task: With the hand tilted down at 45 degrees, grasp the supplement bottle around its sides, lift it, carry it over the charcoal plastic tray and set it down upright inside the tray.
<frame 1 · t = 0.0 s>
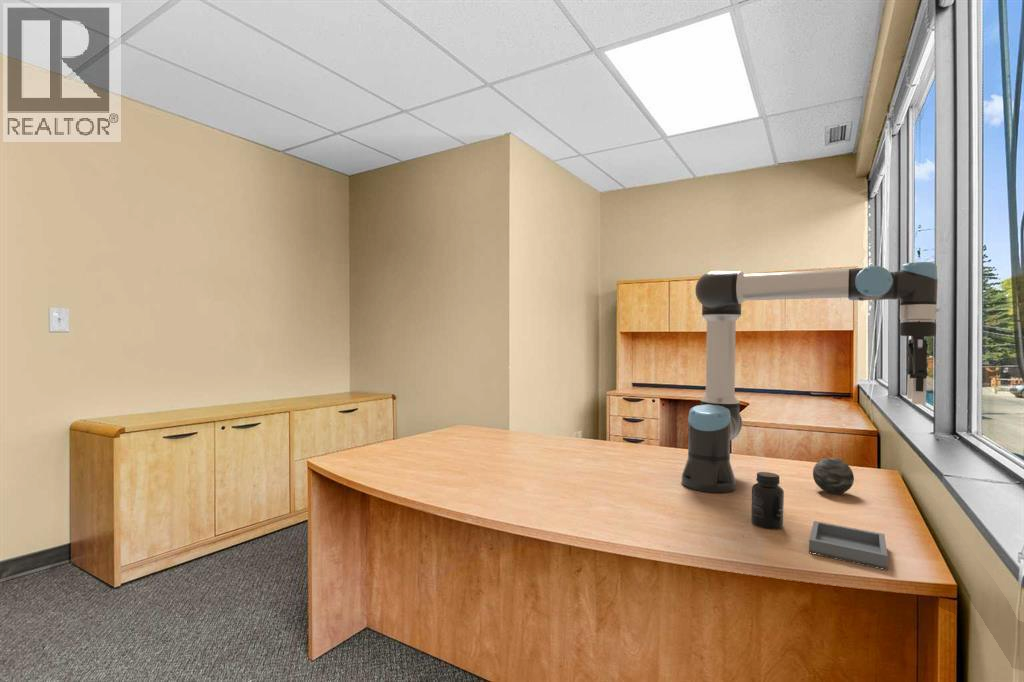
hand: (915, 401, 133), 28 cm above the table, tool pointing down, fingers open, 13 cm apart
decorative stone: (832, 493, 144), on the table
supplement bottle: (767, 525, 120), on the table
tray: (847, 550, 106), on the table
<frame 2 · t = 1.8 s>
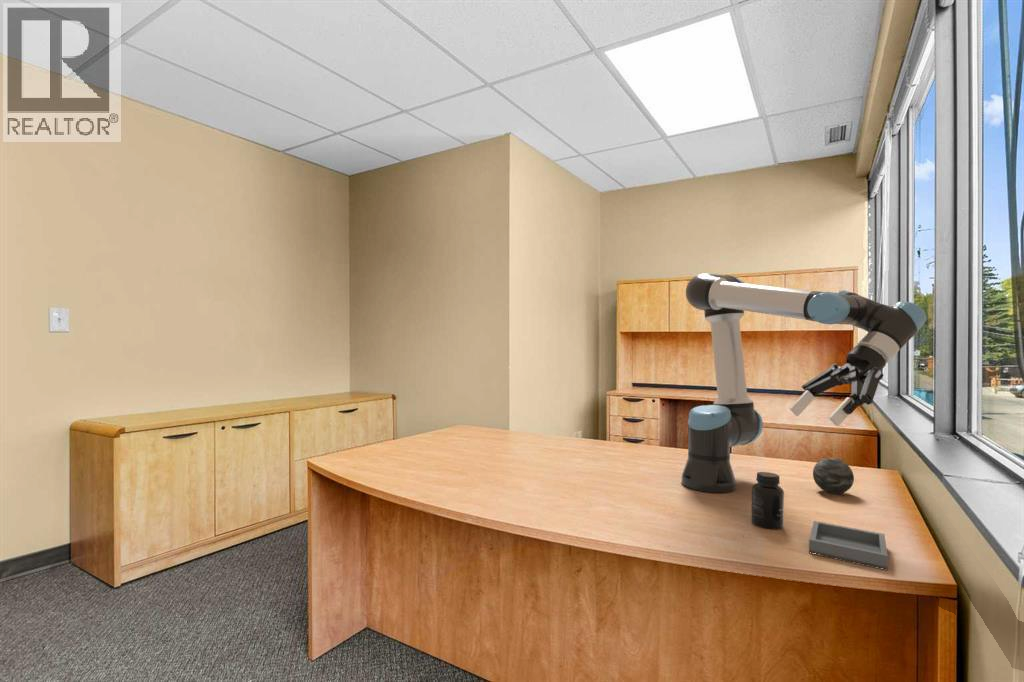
hand: (812, 416, 120), 26 cm above the table, tool tilted 45°, fingers open, 13 cm apart
nothing on the table moved.
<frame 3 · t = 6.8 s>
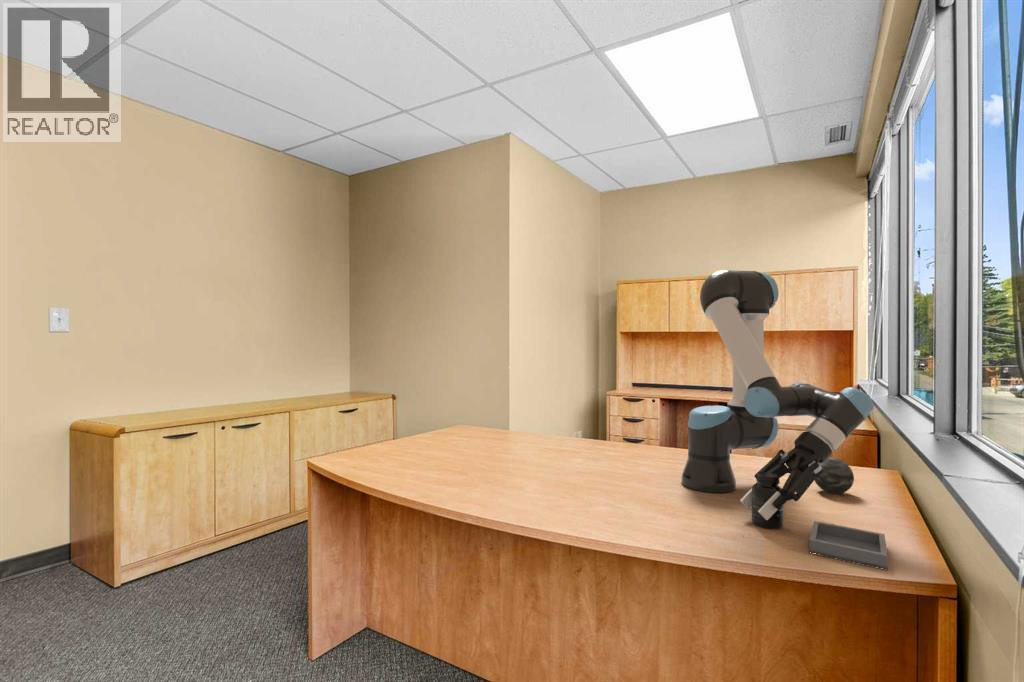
hand: (753, 510, 119), 3 cm above the table, tool tilted 45°, fingers closed on supplement bottle, 7 cm apart
supplement bottle: (767, 525, 120), on the table, touching gripper
everything else where it was.
when the fingers open (5 cm above the table, at t = 11.9 s): supplement bottle drops 1 cm, resting on tray.
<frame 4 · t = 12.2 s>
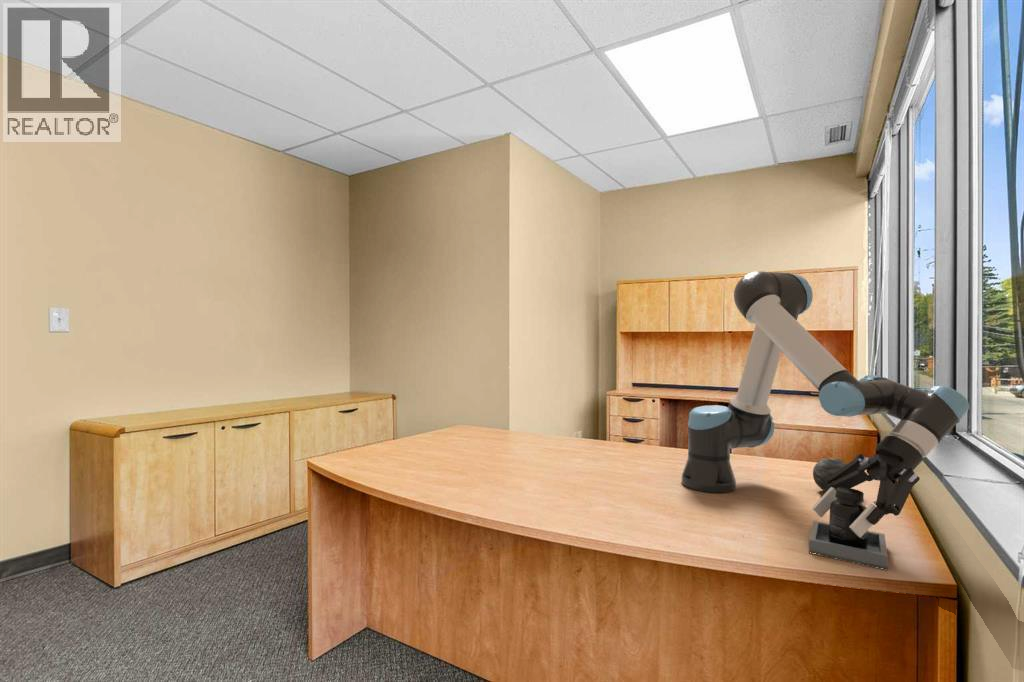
hand: (834, 522, 105), 6 cm above the table, tool tilted 45°, fingers open, 10 cm apart
supplement bottle: (847, 548, 106), resting on tray
everything else where it was.
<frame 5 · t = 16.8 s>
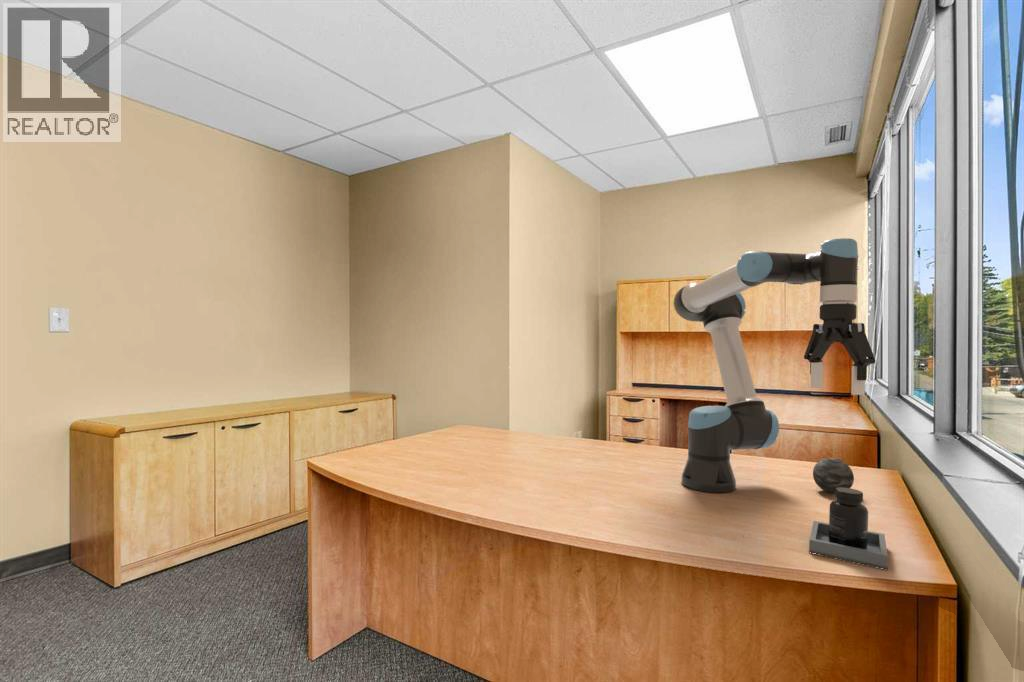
hand: (836, 391, 122), 32 cm above the table, tool pointing down, fingers open, 13 cm apart
nothing on the table moved.
at the end: supplement bottle inside the target area on the tray (0.0 cm from its centre), point 0.4 cm above the tray's base; supplement bottle tilted 0°; the gripper is holding nothing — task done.
